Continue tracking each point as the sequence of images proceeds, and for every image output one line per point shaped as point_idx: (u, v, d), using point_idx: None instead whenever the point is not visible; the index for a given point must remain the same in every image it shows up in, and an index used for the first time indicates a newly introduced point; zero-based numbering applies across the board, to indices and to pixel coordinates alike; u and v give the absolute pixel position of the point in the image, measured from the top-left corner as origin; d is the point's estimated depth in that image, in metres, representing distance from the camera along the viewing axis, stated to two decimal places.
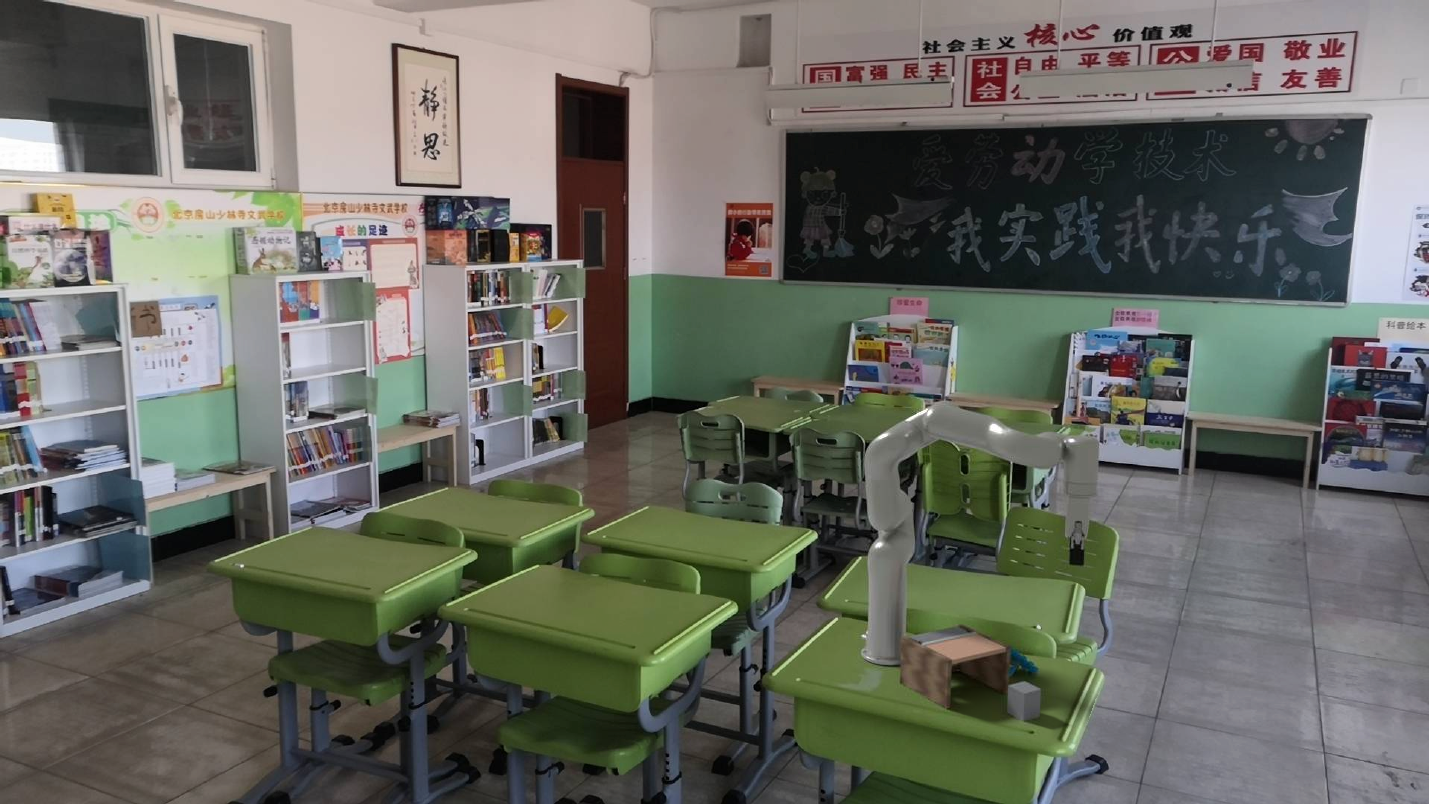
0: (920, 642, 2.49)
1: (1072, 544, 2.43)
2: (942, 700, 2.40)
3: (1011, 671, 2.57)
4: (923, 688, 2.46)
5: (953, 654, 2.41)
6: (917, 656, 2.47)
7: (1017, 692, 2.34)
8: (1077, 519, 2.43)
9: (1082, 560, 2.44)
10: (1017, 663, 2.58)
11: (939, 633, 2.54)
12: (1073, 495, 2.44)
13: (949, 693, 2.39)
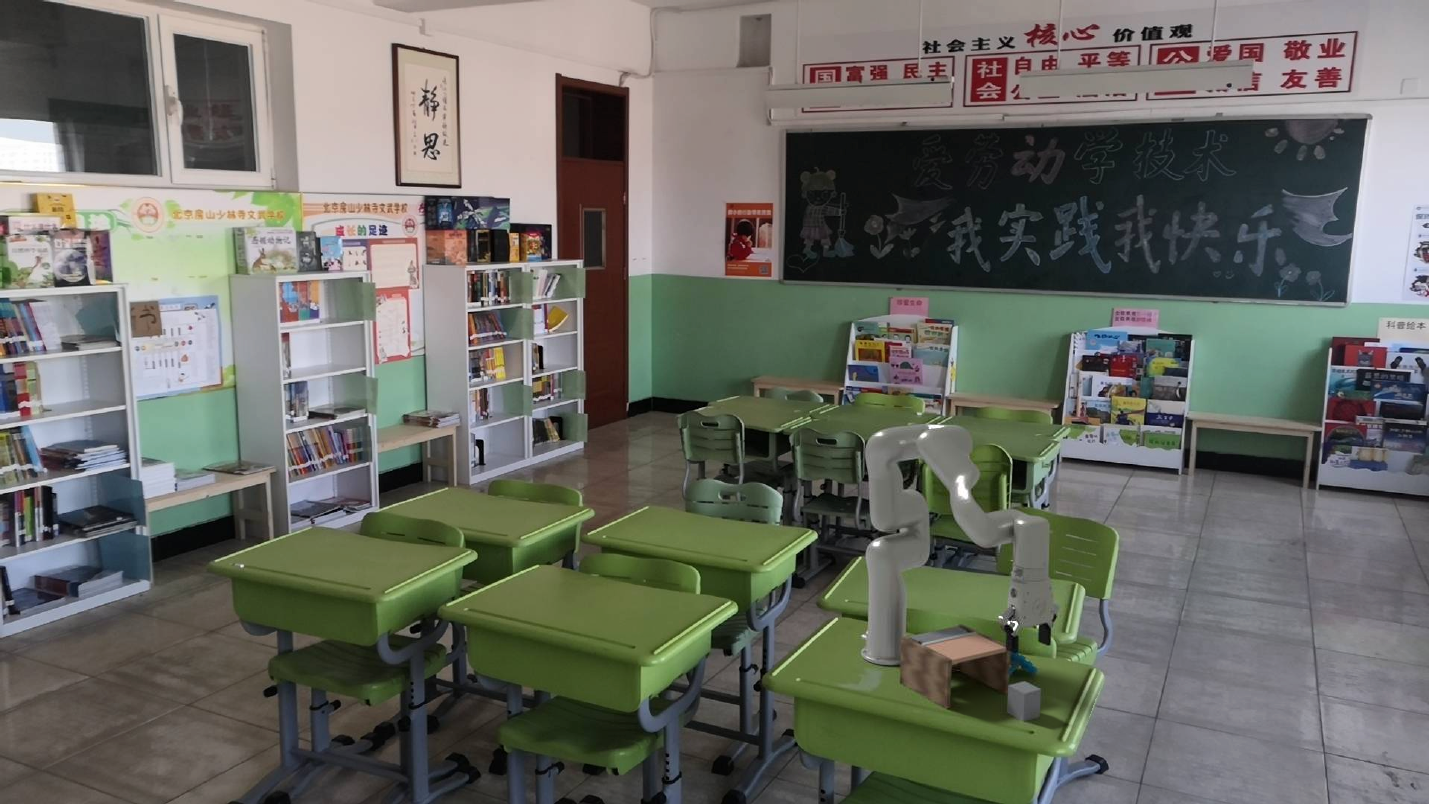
0: (920, 642, 2.49)
1: None
2: (942, 700, 2.40)
3: (1010, 671, 2.57)
4: (923, 688, 2.46)
5: (953, 654, 2.41)
6: (917, 656, 2.47)
7: (1017, 692, 2.34)
8: None
9: None
10: (1016, 663, 2.58)
11: (939, 633, 2.54)
12: None
13: (949, 693, 2.39)
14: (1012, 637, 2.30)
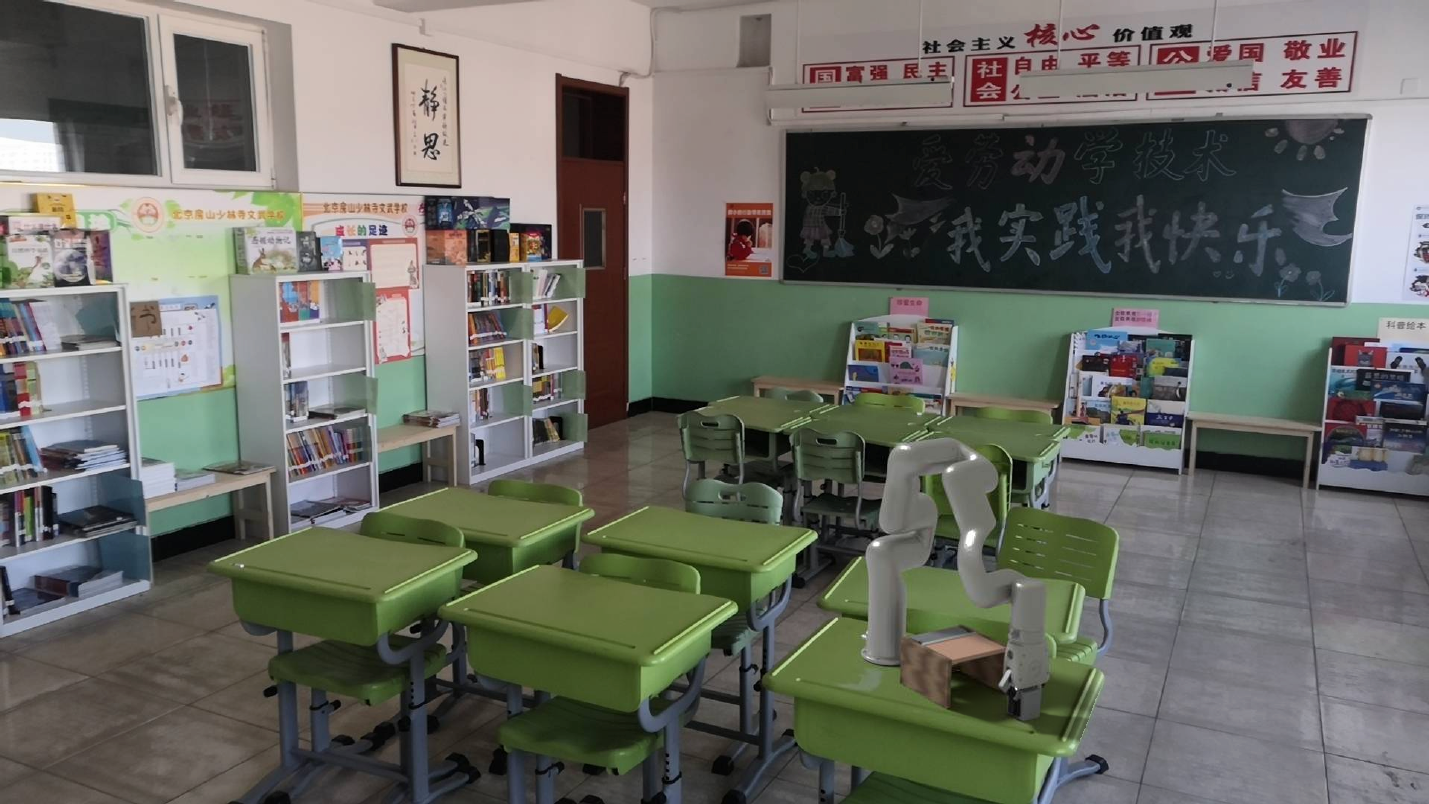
0: (920, 642, 2.49)
1: None
2: (942, 700, 2.40)
3: None
4: (923, 688, 2.46)
5: (953, 654, 2.41)
6: (917, 656, 2.47)
7: None
8: None
9: None
10: None
11: (939, 633, 2.54)
12: None
13: (949, 693, 2.39)
14: (1014, 701, 2.33)
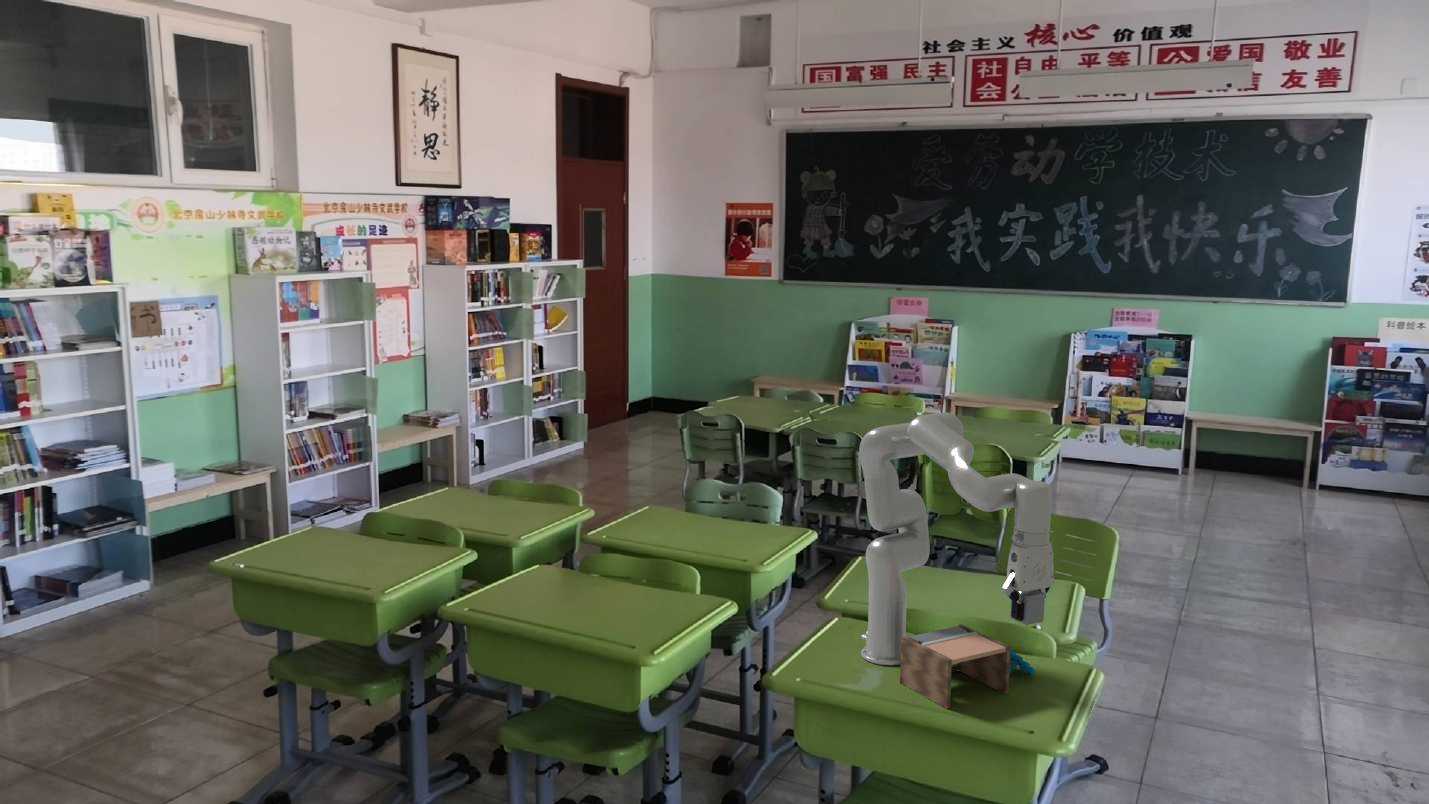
0: (920, 642, 2.49)
1: None
2: (942, 700, 2.40)
3: None
4: (923, 688, 2.46)
5: (953, 654, 2.41)
6: (917, 656, 2.47)
7: None
8: None
9: None
10: (1014, 663, 2.58)
11: (939, 633, 2.54)
12: None
13: (949, 693, 2.39)
14: (1018, 605, 2.31)
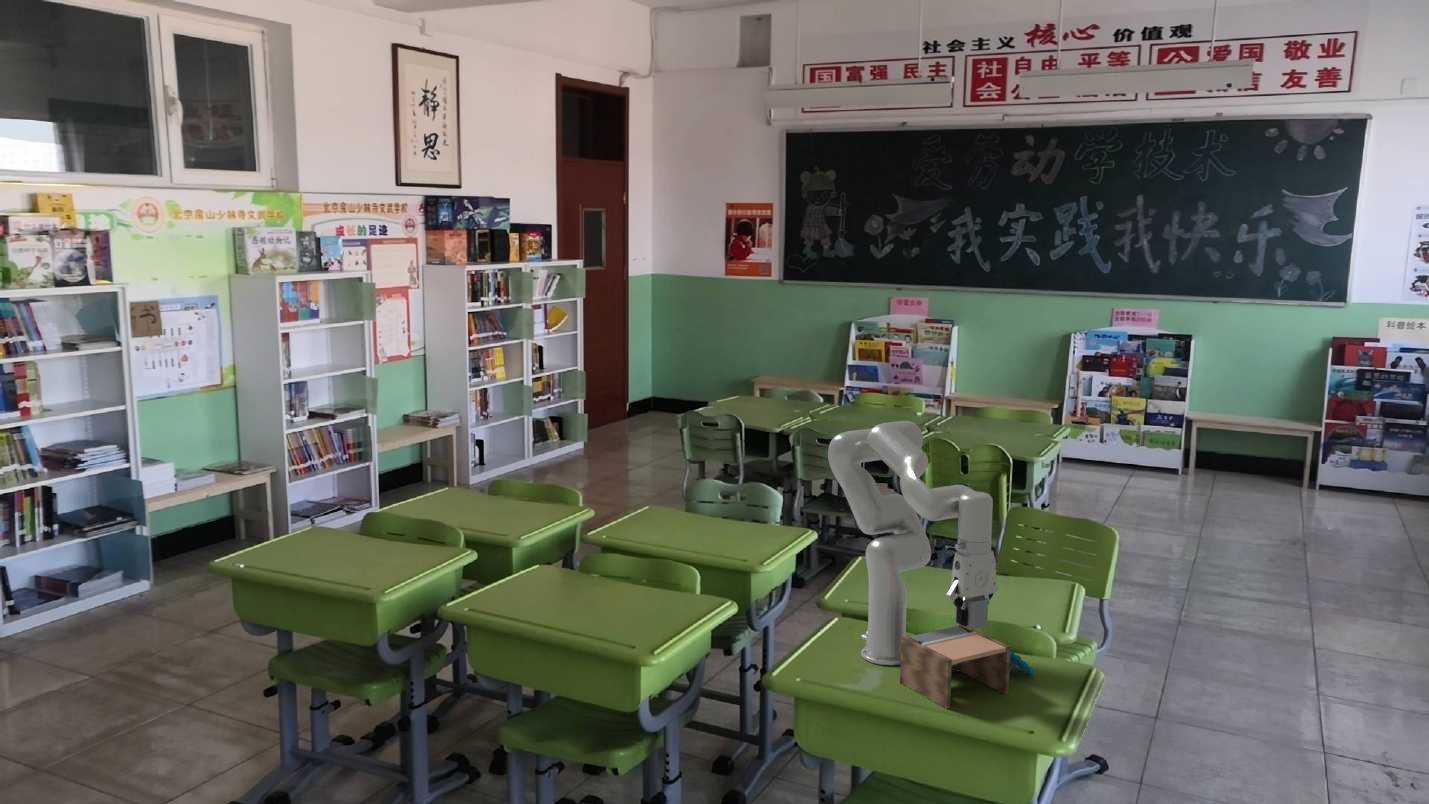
0: (920, 642, 2.49)
1: None
2: (942, 700, 2.40)
3: None
4: (923, 688, 2.46)
5: (953, 654, 2.41)
6: (917, 656, 2.47)
7: None
8: None
9: None
10: (1013, 663, 2.58)
11: (939, 633, 2.54)
12: None
13: (949, 693, 2.39)
14: (962, 611, 2.41)
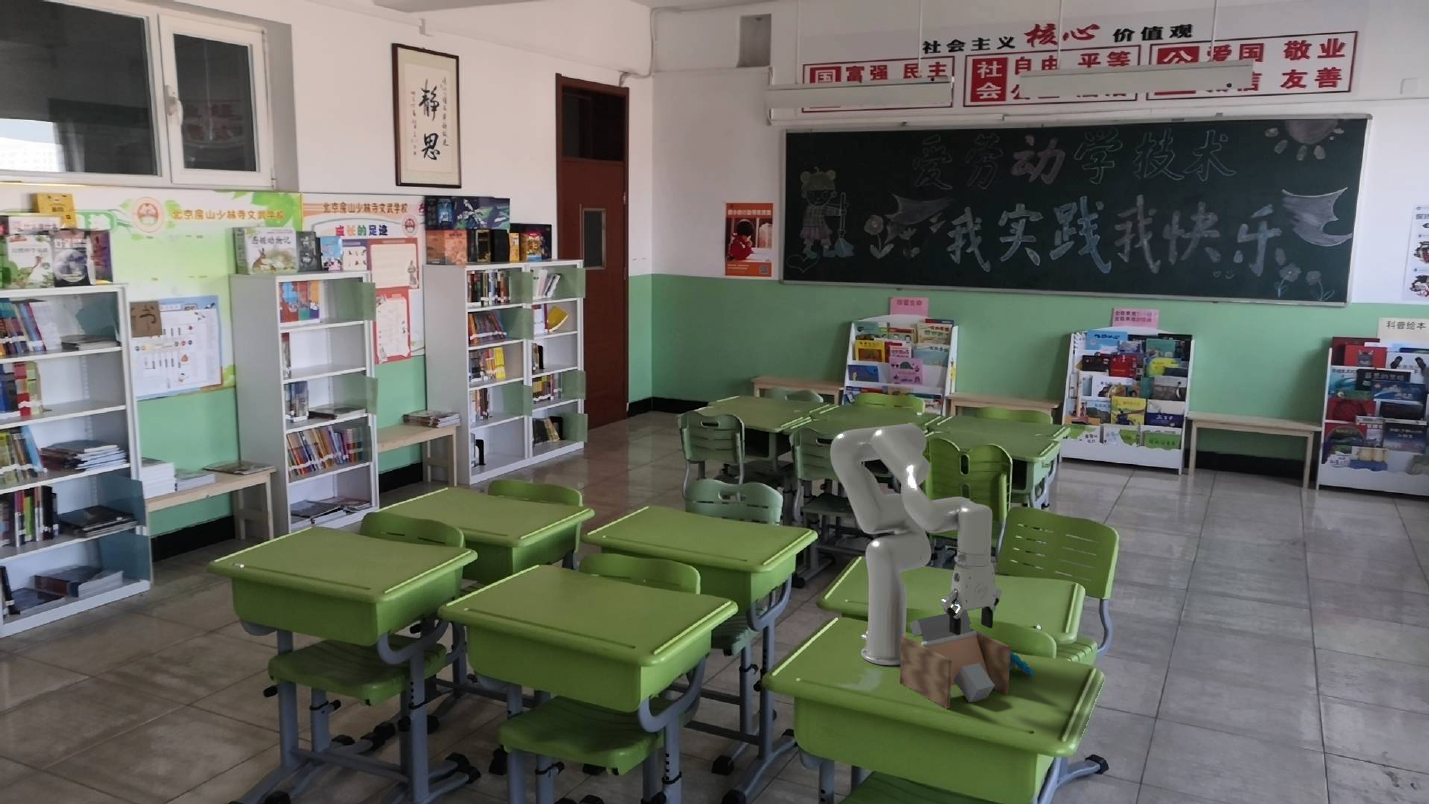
0: (923, 635, 2.48)
1: None
2: (942, 700, 2.40)
3: None
4: (923, 688, 2.46)
5: None
6: (917, 656, 2.47)
7: (971, 695, 2.42)
8: None
9: None
10: (1012, 663, 2.58)
11: (945, 621, 2.52)
12: None
13: (949, 693, 2.39)
14: (955, 619, 2.40)
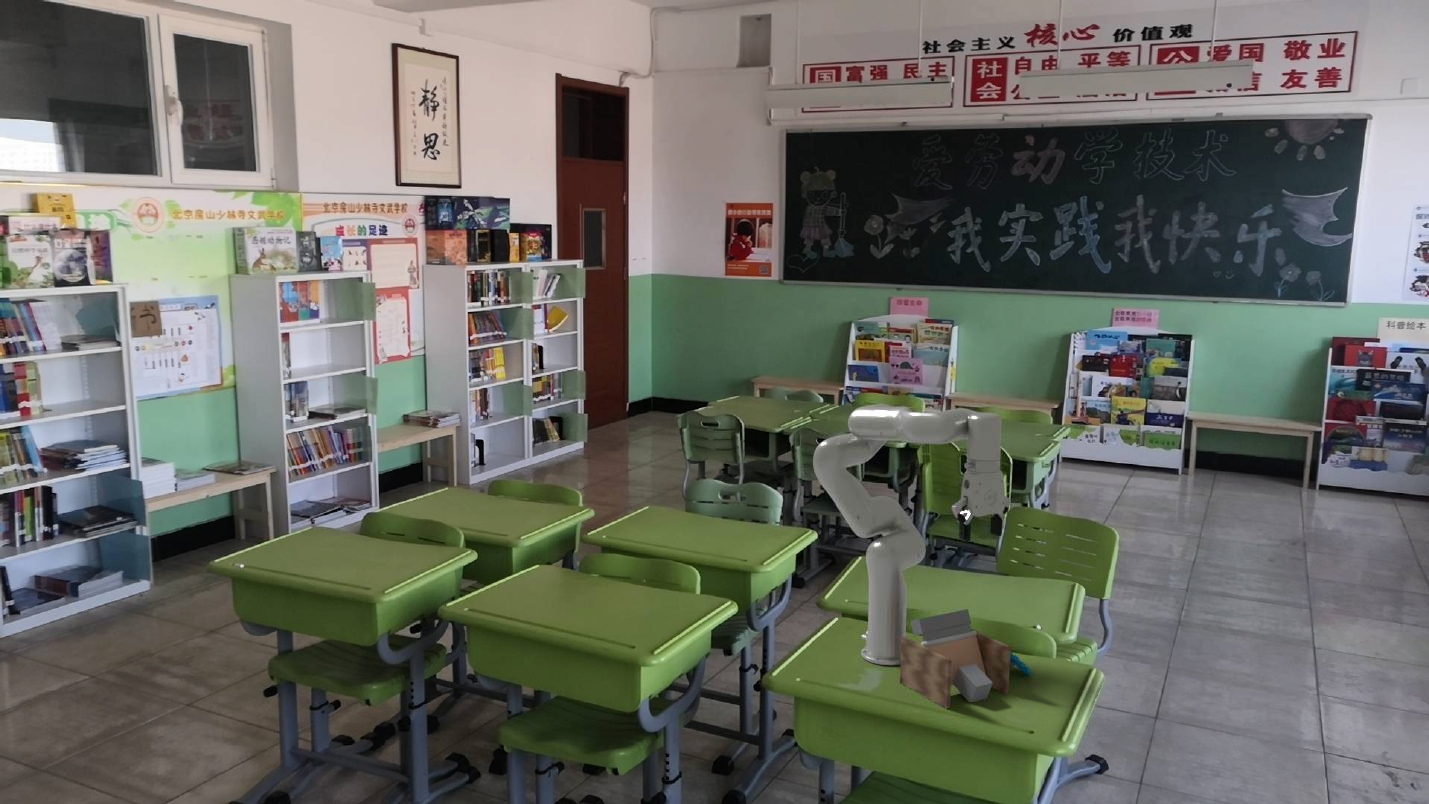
0: (923, 634, 2.48)
1: None
2: (942, 700, 2.40)
3: None
4: (923, 688, 2.46)
5: None
6: (917, 656, 2.47)
7: (970, 695, 2.42)
8: None
9: None
10: (1011, 663, 2.58)
11: (946, 621, 2.52)
12: None
13: (949, 693, 2.39)
14: (965, 526, 2.44)
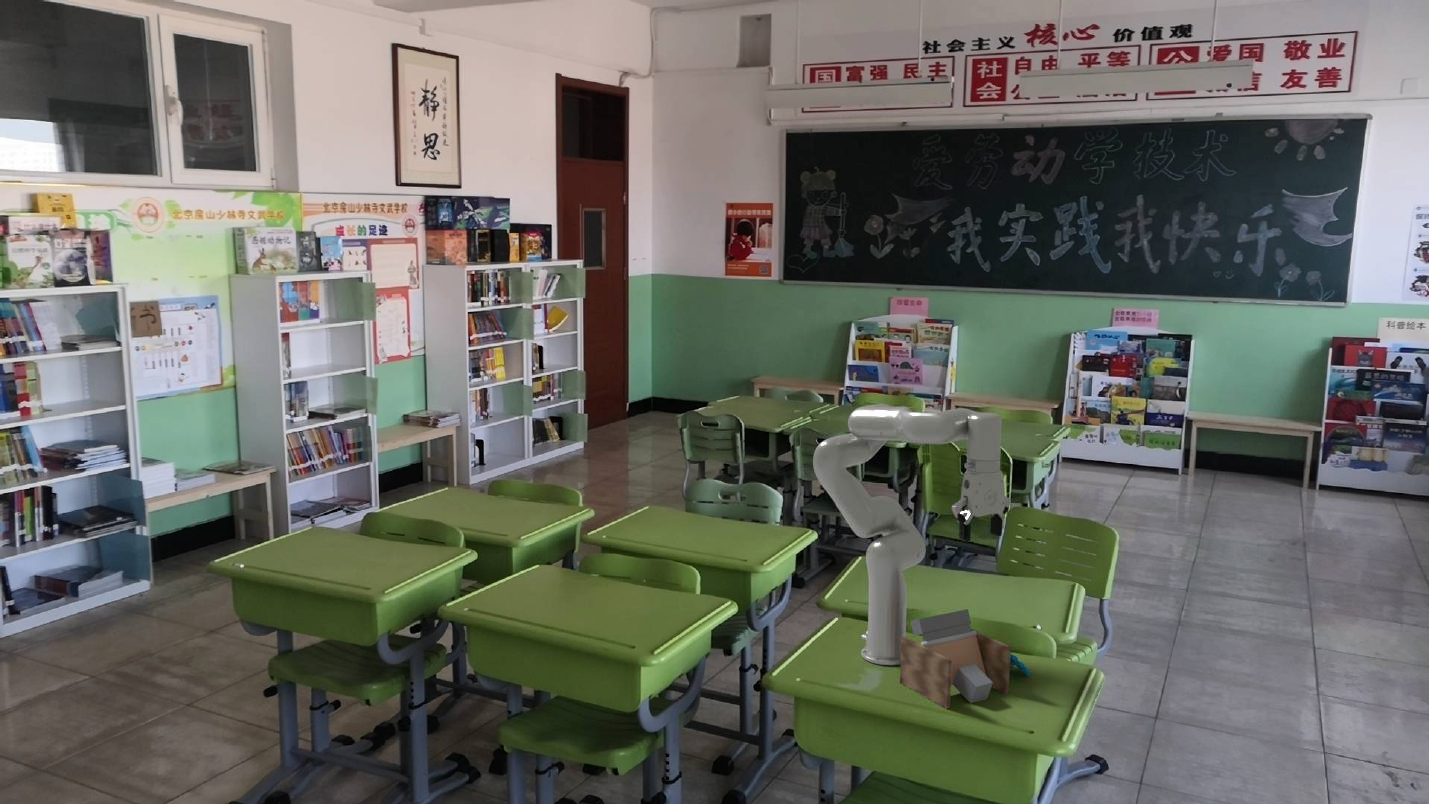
0: (923, 634, 2.48)
1: None
2: (942, 700, 2.40)
3: None
4: (923, 688, 2.46)
5: None
6: (917, 656, 2.47)
7: (971, 695, 2.42)
8: None
9: None
10: None
11: (946, 621, 2.52)
12: None
13: (949, 693, 2.39)
14: (965, 526, 2.44)
